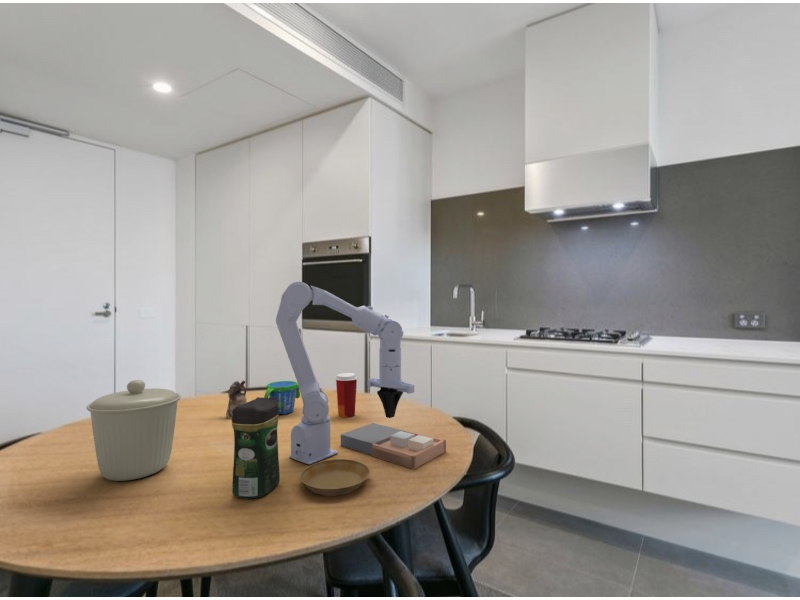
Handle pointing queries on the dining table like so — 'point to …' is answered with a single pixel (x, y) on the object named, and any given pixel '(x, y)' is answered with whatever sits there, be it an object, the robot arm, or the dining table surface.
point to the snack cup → (283, 395)
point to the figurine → (236, 397)
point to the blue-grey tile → (401, 439)
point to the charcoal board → (367, 437)
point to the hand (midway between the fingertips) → (390, 416)
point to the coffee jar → (255, 448)
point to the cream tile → (419, 443)
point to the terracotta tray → (409, 452)
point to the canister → (133, 431)
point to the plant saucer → (335, 476)
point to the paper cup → (346, 394)
